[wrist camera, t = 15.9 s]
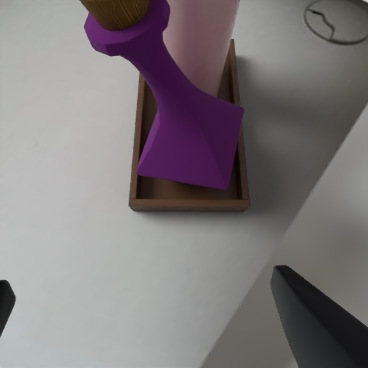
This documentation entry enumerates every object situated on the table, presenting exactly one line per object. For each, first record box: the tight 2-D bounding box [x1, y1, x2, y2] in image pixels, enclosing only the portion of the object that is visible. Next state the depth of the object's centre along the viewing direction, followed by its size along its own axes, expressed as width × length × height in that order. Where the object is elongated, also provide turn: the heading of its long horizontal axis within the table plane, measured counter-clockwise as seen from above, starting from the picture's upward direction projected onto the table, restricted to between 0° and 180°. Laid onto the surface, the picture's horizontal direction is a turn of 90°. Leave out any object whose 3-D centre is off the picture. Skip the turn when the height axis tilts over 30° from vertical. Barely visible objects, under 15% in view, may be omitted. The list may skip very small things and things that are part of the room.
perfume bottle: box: [80, 0, 244, 190], centre depth 14 cm, size 8×8×18 cm
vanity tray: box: [129, 39, 250, 211], centre depth 23 cm, size 19×10×2 cm, turn 0°
